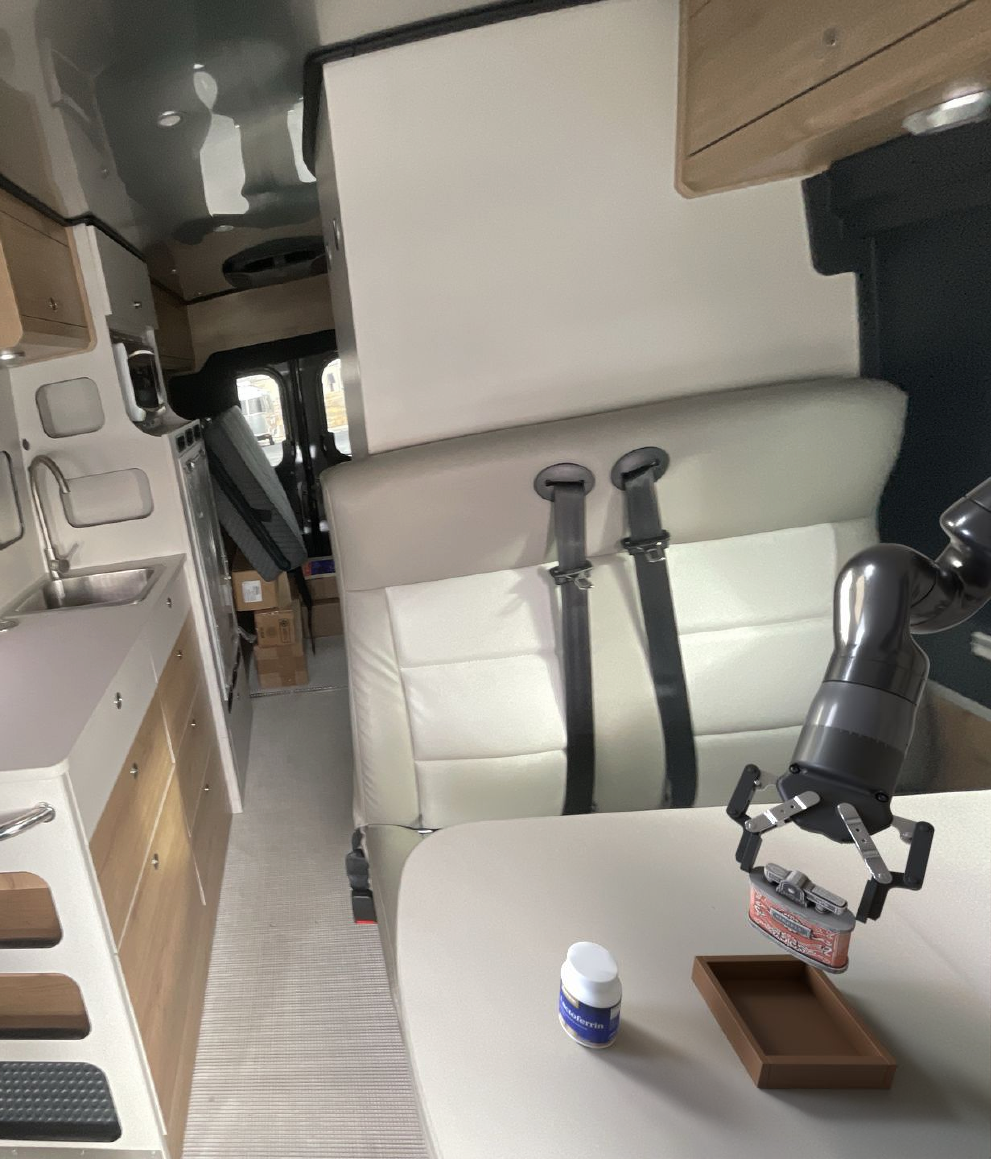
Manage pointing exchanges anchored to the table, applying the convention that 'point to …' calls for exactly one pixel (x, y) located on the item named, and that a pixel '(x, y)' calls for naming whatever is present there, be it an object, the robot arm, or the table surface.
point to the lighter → (801, 917)
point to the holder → (791, 1023)
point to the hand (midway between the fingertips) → (800, 895)
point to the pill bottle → (590, 995)
